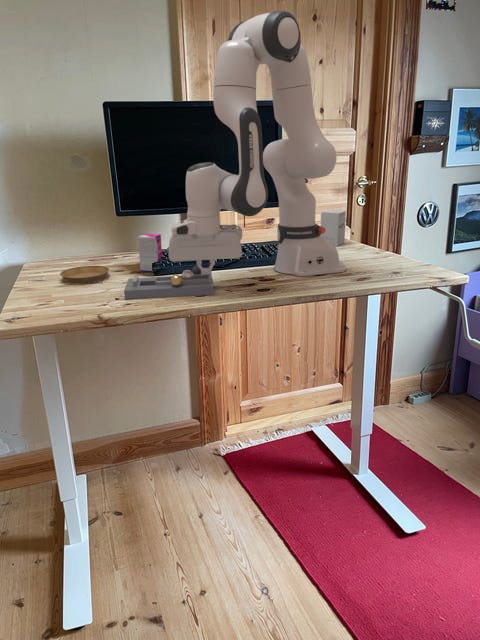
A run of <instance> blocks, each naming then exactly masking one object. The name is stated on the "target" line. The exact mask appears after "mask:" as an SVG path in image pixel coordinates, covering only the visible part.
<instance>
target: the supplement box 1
mask: <svg viewBox="0 0 480 640" xmlns="http://www.w3.org/2000/svg"><path fill="white" fill-rule="evenodd" d="M137 240H138V253H139V255H138V256H139V268H140V270H139V271H140V273H153V272H152V263H154V262H157V261H158V260H159V259H160V258H161V257H162V258H163V250H162V234H161V233H160V234H159V233H143V234H142V235H139V236H138V237H137Z"/></svg>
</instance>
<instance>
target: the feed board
mask: <svg viewBox="0 0 480 640" xmlns="http://www.w3.org/2000/svg"><path fill="white" fill-rule="evenodd" d="M178 275H179V276H181V278H182V274H181V275H180V274H178ZM172 276H173V275H163V276H153V277H152V276H151V277H150V276H149V277H139V275H134V276H133V278H128V279H127V282H126V284H125V288H124V290H123V294H124V301H126V300H140V299H141V300H145V299H146V300H147V299H161V298H162V299H165V298H178V297H179V298H181V297H197V296H214V295H215V285H214V284H215V283H214V280H213V276H212V275H207V276H201V274H198V275H193V278H192V279H191V280H183V279H182V284H181V285H180V286H173V285H172V284H171V281H170V280H171V277H172Z"/></svg>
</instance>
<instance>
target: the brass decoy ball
mask: <svg viewBox="0 0 480 640" xmlns="http://www.w3.org/2000/svg"><path fill="white" fill-rule="evenodd" d="M179 275H180V274H173V275H171V276H172V277H171V280H170V281H171V284H172V285H173V286H180V285H181V284H182V278H181V276H179Z"/></svg>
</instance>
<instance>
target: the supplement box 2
mask: <svg viewBox="0 0 480 640" xmlns="http://www.w3.org/2000/svg"><path fill="white" fill-rule="evenodd" d="M346 215H347V210H343V209H342V210H341V209H339V210H338V209H327V210H324V211H321V212H320V226H323V227H324V228H325V230H326V232H324V234H321V235H320V236H322V237H323V238H324V239H325V240H327V241H328V242H329V243H330V244H332V245H333V246H334V247H335V248H337V247H339V246H341V245H343V244H345V236H346V235H345V234H346V222H347V221H346V218H347V217H346Z"/></svg>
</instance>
